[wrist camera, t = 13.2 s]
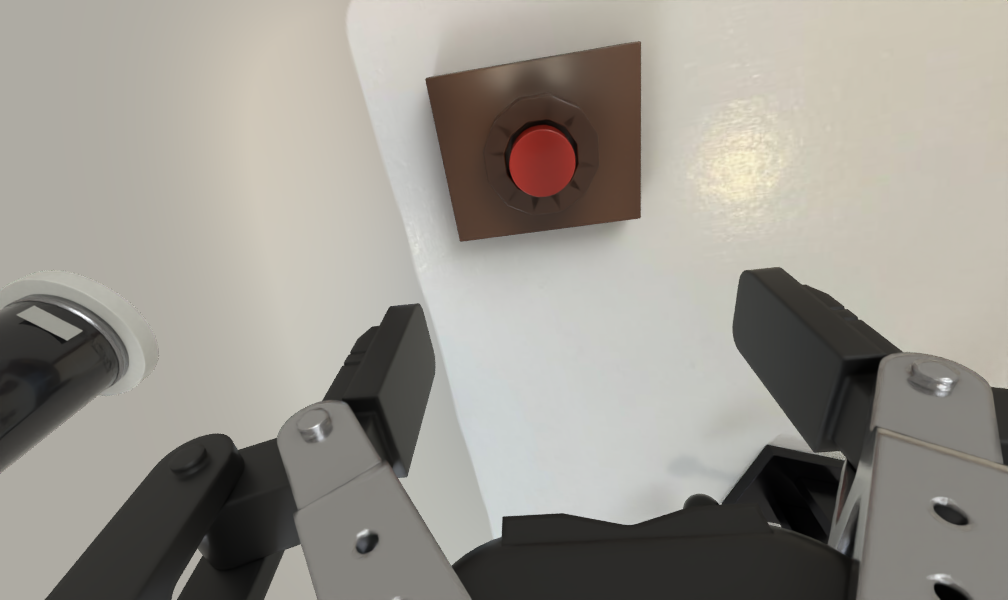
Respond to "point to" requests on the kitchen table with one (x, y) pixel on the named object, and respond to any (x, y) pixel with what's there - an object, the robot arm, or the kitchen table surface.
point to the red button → (542, 161)
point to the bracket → (792, 490)
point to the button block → (542, 101)
